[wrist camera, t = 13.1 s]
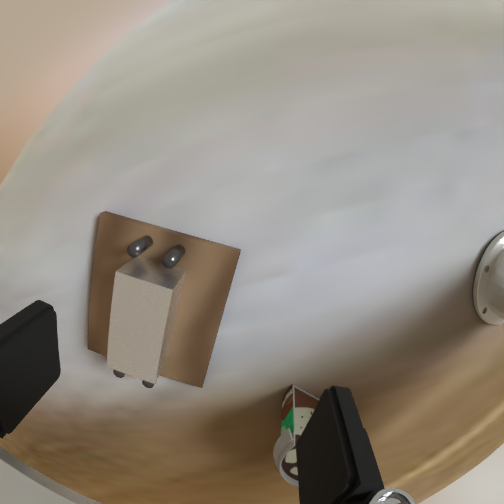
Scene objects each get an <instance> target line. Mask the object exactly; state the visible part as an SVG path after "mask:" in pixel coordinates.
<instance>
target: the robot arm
mask: <svg viewBox="0 0 504 504" xmlns="http://www.w3.org/2000/svg"><path fill="white" fill-rule="evenodd" d="M473 299H474V305H475V309H476V312H477V313H478V315H479V317H480V318H482V319H483V320H484V321H485V322H487V323H488V324H491V325H500V324H503V323H504V231H503V232H502V233H500V234H499V235H498V236H497V237H496V238H495V239H494V240H493V241H492V242H491V243H490V245H489V246H488V248H487V249H486V251H485V253H484V254H483V256H482V258H481V261H480V263H479V266H478V269H477V272H476V276H475V281H474V289H473ZM59 376H60V361H59V350H58V337H57V317H56V312H55V311H54V309H53V306H51V305H50V304H47V303H45V302H43V301H41V300H37V301H35V302H34V303H32V304H31V305H29V306H27V307H26V308H24V309H23V310H21V311H20V312H18V313H17V314H15V315H14V316H12V317H11V318H9V319H8V320H6V321H5V322H3V323H2V324H0V438H3V437H4V436H5V435H6V433H7V434H10V433H11V432H12V431H13V430H14V429H15V428H16V426H17V425H18V424H19V423H20V422H21V421H22V419H23V418H24V417H25V416H26V415H27V414H28V412H29V411H30V410H31V409H32V408H33V407H34V405H35V404H36V403H37V402H38V401H39V400H40V399H41V397H42V396H43V395H44V394H45V393H46V392H47V391H48V390H49V388H50V387H51V386H52V385H53V384H54V383H55V382H56V381H57V379H58V378H59ZM296 458H297V471H298V484H299V499H300V504H415V502H414V500H413V499H412V498H411V496H410V495H409V494H407V493H406V492H404V491H402V490H400V489H396V488H387V489H385V488H384V485H383V482H382V478H381V475H380V472H379V469H378V466H377V462H376V459H375V456H374V453H373V450H372V447H371V444H370V441H369V438H368V435H367V432H366V430H365V429H364V428H363V426H362V423H361V420H360V417H359V414H358V411H357V408H356V405H355V402H354V399H353V396H352V393H351V391H350V389H349V388H344V387H337V386H332V387H331V388H330V389H329V390H328V389H326V390H325V391H324V392H323V394H322V396H321V398H320V400H319V402H318V404H317V406H316V408H315V410H314V412H313V414H312V416H311V418H310V419H309V421H308V423H307V425H306V427H305V429H304V430H303V432H302V434H301V436H300V438H299V439H298V442H297V445H296ZM0 504H102V503H99V502H97V501H95V500H93V499H90V498H88V497H86V496H84V495H82V494H80V493H77V492H75V491H73V490H71V489H69V488H67V487H65V486H63V485H61V484H60V483H58V482H56V481H54V480H52V479H50V478H49V477H47V476H45V475H43V474H41V473H40V472H38V471H36V470H35V469H33V468H31V467H30V466H28V465H27V464H25V463H23V462H22V461H20V460H19V459H17V458H16V457H14V456H13V455H11V454H10V453H8V452H7V451H5V450H4V449H2V448H1V447H0Z"/></svg>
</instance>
